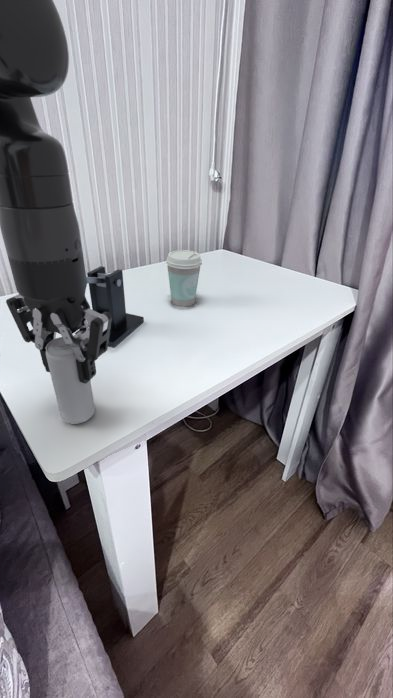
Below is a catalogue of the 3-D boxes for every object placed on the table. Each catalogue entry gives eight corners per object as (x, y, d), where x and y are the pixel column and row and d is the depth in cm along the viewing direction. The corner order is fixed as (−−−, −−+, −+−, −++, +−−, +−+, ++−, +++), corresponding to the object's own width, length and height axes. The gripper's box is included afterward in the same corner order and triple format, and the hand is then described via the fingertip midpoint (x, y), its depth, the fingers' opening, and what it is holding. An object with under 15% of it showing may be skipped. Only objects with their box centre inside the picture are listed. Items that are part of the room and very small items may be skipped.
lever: (80, 289, 54) (81, 275, 54) (54, 284, 56) (55, 269, 55) (120, 288, 65) (122, 276, 65) (98, 284, 67) (99, 272, 66)
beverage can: (102, 411, 49) (92, 342, 43) (76, 431, 46) (61, 359, 39) (80, 399, 51) (67, 331, 45) (53, 417, 48) (36, 347, 42)
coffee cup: (179, 312, 79) (180, 262, 72) (159, 299, 84) (158, 252, 78) (207, 303, 83) (209, 256, 77) (186, 292, 89) (187, 247, 82)
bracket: (113, 347, 65) (106, 286, 58) (75, 337, 67) (64, 277, 60) (143, 321, 74) (141, 265, 67) (109, 313, 77) (103, 259, 70)
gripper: (-36, 247, 35) (7, 376, 44) (78, 269, 31) (99, 406, 40) (20, 232, 41) (48, 348, 50) (122, 248, 37) (131, 372, 46)
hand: (70, 374), depth 45 cm, fingers closed on beverage can, 5 cm apart
